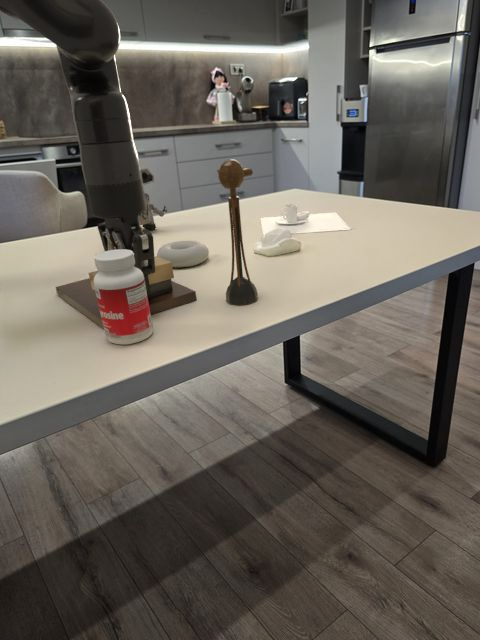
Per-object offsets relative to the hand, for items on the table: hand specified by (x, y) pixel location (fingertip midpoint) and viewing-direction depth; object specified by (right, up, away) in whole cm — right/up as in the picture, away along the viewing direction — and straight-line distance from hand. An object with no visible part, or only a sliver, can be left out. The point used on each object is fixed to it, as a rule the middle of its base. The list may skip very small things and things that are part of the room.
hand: (135, 295), depth 73 cm
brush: (0, 0, 0) cm, 0 cm away
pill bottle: (+2, -7, -9) cm, 11 cm away
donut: (+4, +9, +21) cm, 23 cm away
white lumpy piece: (+22, +12, +24) cm, 35 cm away
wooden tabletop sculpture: (+17, -1, +1) cm, 17 cm away
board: (-3, 0, +4) cm, 5 cm away
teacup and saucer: (+29, +23, +45) cm, 58 cm away
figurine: (-11, +20, +46) cm, 51 cm away
